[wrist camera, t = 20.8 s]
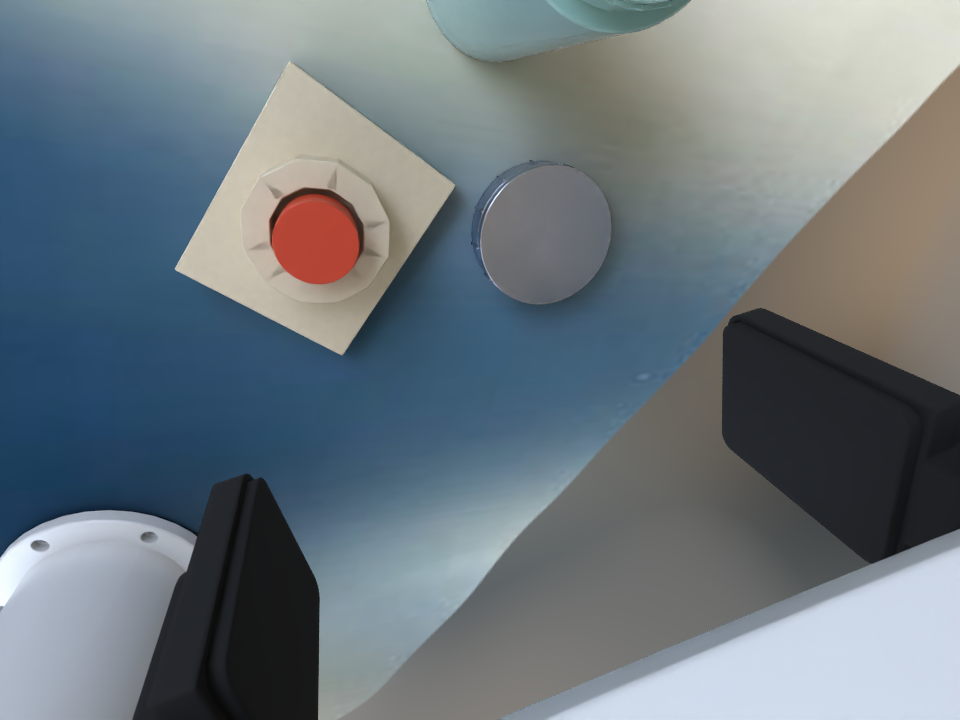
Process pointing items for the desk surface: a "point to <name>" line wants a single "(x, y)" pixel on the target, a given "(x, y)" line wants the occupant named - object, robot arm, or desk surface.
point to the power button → (316, 239)
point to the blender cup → (541, 23)
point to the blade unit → (541, 231)
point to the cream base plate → (314, 170)
